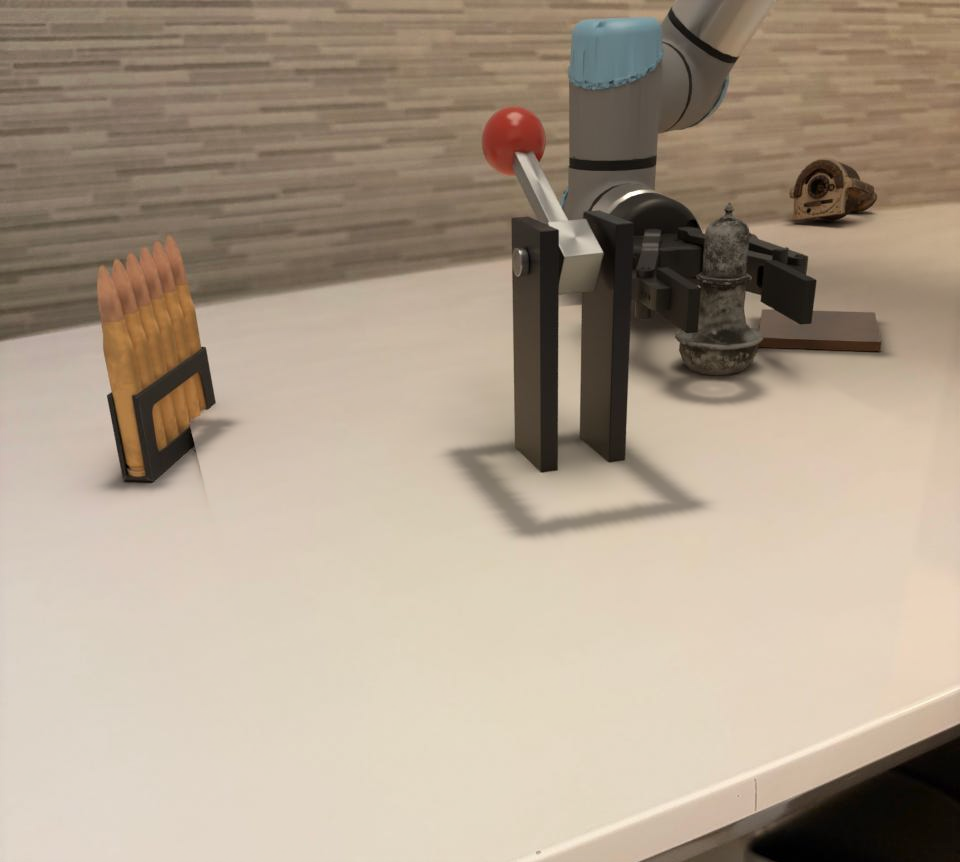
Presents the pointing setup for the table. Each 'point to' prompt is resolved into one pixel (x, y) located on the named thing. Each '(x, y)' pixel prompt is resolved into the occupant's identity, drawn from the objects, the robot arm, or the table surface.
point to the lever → (542, 193)
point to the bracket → (599, 340)
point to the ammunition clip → (152, 360)
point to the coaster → (821, 331)
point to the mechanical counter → (830, 191)
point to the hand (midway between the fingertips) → (751, 306)
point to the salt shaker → (722, 303)
